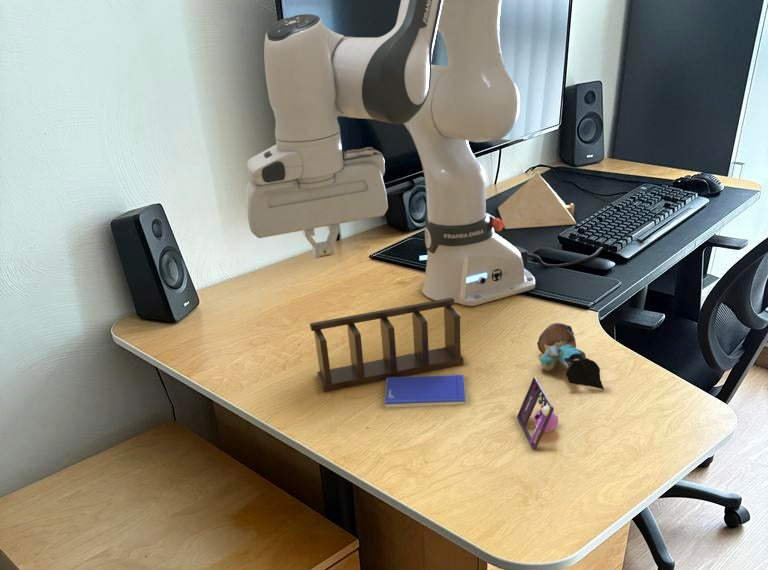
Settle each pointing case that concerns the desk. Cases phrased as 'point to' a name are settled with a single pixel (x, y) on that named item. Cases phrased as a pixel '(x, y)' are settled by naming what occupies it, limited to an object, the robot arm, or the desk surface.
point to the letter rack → (389, 347)
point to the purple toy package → (543, 418)
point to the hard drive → (425, 391)
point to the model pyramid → (535, 207)
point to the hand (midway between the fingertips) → (324, 255)
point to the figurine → (567, 356)
